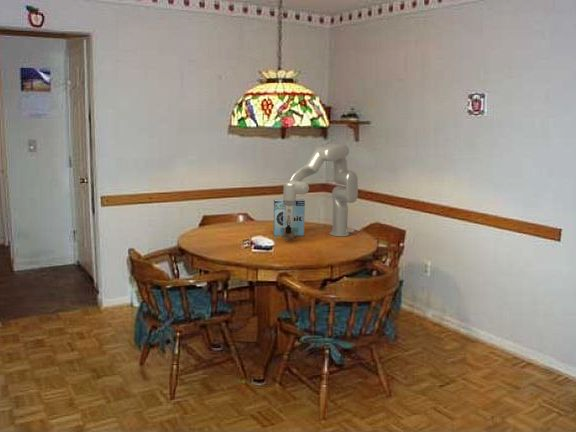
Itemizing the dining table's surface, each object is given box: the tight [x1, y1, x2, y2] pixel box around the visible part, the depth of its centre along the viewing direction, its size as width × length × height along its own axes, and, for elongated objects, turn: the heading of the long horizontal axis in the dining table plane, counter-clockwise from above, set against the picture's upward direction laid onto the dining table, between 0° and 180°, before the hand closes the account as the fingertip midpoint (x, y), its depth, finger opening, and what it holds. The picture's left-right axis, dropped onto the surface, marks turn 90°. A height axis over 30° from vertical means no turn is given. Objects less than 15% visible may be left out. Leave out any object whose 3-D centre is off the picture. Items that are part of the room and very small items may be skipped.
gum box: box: [273, 199, 306, 237], centre depth 372 cm, size 20×5×23 cm, turn 98°
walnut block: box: [282, 228, 295, 242], centre depth 363 cm, size 6×9×6 cm, turn 176°
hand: (288, 233), depth 350 cm, fingers closed
